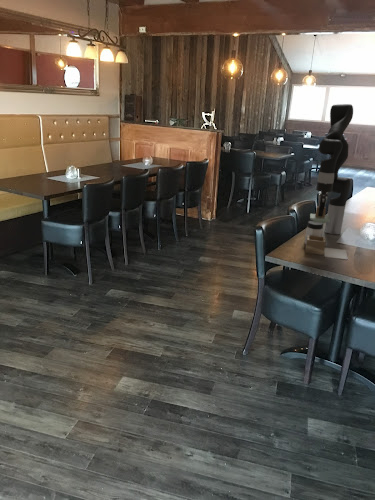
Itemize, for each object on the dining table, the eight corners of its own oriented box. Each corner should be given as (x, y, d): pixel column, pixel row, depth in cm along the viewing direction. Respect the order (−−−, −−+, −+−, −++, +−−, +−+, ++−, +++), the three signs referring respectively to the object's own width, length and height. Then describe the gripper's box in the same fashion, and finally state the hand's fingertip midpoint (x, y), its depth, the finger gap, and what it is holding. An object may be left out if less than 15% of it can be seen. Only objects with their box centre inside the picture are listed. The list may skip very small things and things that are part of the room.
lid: (309, 217, 215) (311, 204, 212) (328, 219, 213) (330, 206, 210) (309, 222, 206) (311, 208, 204) (329, 224, 204) (331, 210, 202)
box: (305, 247, 220) (307, 234, 218) (323, 249, 218) (325, 237, 216) (305, 252, 212) (307, 239, 210) (323, 255, 210) (325, 242, 207)
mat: (323, 248, 220) (323, 247, 220) (345, 250, 218) (345, 250, 218) (324, 257, 207) (324, 256, 207) (347, 260, 204) (347, 259, 204)
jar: (318, 241, 230) (321, 221, 226) (322, 246, 223) (326, 225, 219) (302, 240, 230) (305, 220, 226) (306, 245, 223) (309, 224, 219)
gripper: (317, 178, 210) (312, 211, 216) (317, 183, 197) (312, 218, 203) (332, 179, 208) (327, 212, 214) (334, 184, 195) (328, 219, 201)
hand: (320, 215), depth 208 cm, fingers closed on lid, 3 cm apart
